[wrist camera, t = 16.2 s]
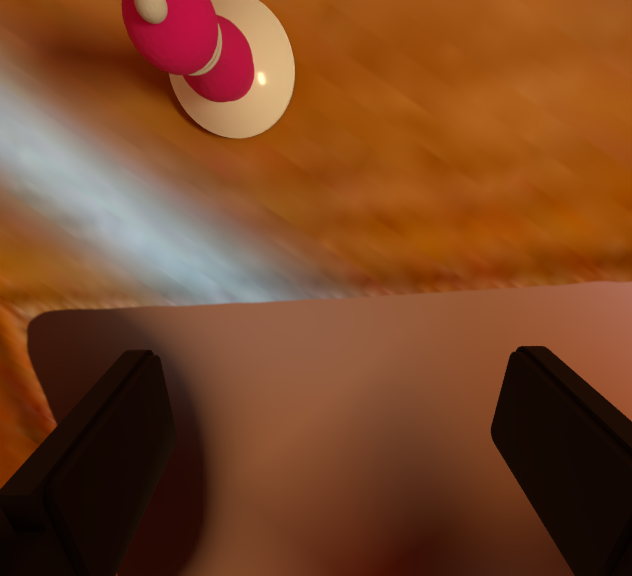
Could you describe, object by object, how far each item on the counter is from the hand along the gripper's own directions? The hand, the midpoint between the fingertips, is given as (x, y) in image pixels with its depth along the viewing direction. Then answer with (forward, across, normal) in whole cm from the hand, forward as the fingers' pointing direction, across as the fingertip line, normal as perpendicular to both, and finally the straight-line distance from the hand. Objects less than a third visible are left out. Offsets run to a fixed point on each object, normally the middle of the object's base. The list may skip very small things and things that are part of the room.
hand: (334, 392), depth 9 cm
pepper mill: (+37, +10, -14) cm, 41 cm away
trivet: (+38, +10, -14) cm, 42 cm away
